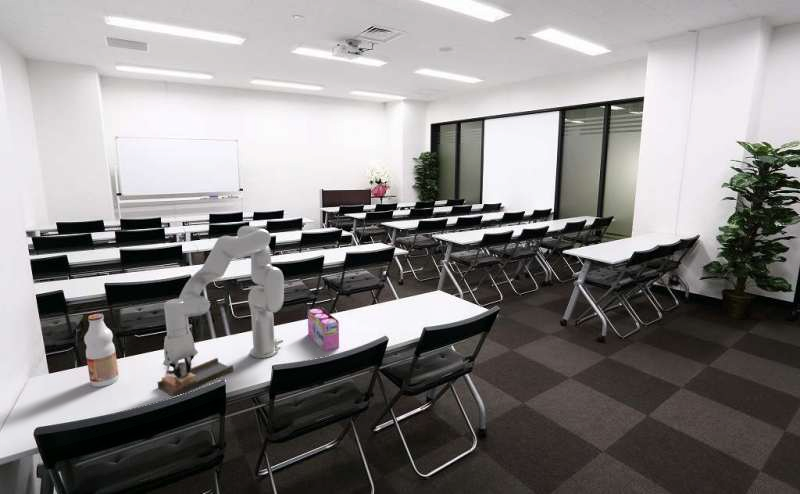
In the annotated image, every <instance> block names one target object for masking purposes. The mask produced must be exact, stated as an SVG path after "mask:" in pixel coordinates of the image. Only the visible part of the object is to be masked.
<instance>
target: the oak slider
mask: <svg viewBox="0 0 800 494" xmlns="http://www.w3.org/2000/svg"><path fill="white" fill-rule="evenodd" d="M178 367H179V368H180V373H181V377H180V378H178V377H177V376H175V375H174V374H169V376H170V377H172V378H174V379H175V380H177V381H179V382H180V383H182V387H183V386H185V385H187V384H190V383H192V382H194V381H196V375H194V374H192V373H189V374H188V373H187V369H186V362H180V363H178Z"/></svg>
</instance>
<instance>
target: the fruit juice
mask: <svg viewBox="0 0 800 494" xmlns="http://www.w3.org/2000/svg"><path fill="white" fill-rule="evenodd" d="M87 321H88V322H89V326H88V329H87V332H86V333H85V335H84V338H83V341H84V344H85V346H86V349H85V356H86V364H87V369H88V376H89V383H90V385H91V386H92V387H94V388H95V387H96V388H102V387H107V386H109V385H113V384H114V383H115V382H117V381H118V380H119V378H120V375H119V368H118V367H119V366H118V360H117V354H116V353H117V352H116V347H115V344H114V342H113V338H114V334H113V331H112V330H111V329H110V328H108V326H106V323H105V322H104V314H103V313H94V314H92V315H88V317H87Z"/></svg>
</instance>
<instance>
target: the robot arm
mask: <svg viewBox="0 0 800 494" xmlns="http://www.w3.org/2000/svg"><path fill="white" fill-rule="evenodd" d="M271 238H272V237H271V234H270V232H269V231H268V230H266V229H264V228H262V227H261V228H260V227H256V226H251V225H243V226H241V227H239V228H238V230H237V237H235V236H230V235H223V236H220V237H219V238H217V240H216V241H215V243H214V245H213V248H212V249H211V251H210V253H209V255H208V256H207V258H206V260H205V262H204V264H203V266H202V267H201V268H200V269H199V270H198V271H197V272H195V273H194V274H193V275H192V276H191V277H190V278H189V279H188V281H187V282H186V283H185V285H184V287H183V288H182V290H181V292H180V295H179V296H178V298H173V299H169V300H166V301H165V303H164V305H163V307H164V309H163V310H164V316H165V317H164V318H165V327H166V332H167V333H166V335H165V336H164V340H163V341H164V343H163V344H164V345H163V353H164V355H163V357H164V360H163V363H162V365H163V366H165V367H168V366H171V367H173V369H174V375H175V376H177V377H178V378H180V377H181V373H180V368H179V367H178V361H179V360H181V359H184V360H185V362H186V369H187V373H188V374H189V373H190V370H191V368H192V367H191V368H190V363H191V364H192V361H193V359H194V357H195V356H197V355H198V353H199V351H198V350H197V349H196V346H195V341H194V337H193V335H192V332H191V330H190V328H192V327H193V325H192V324H191V323H189V317H196V316H197V317H198V316H202V315H205V314H206V313H208V312H209V310H210V308H211V302H210V301H209V299H208V298H206V297H205V296H202V295H200V294H201V293H202V292H203V290H204V288H205V287H206V286H208V284H209V283H211V282H213V281H215V280H218V279H220V278H223V276H224V275H225V273H226V271H227V269H228V268H229V265H230V264H231V261H232V260H233V259H234V260H236V259H237V260H238V259H243V258H245V257H248V256H250V277H251V280H252V282H254V283H255V284H257V285H259V286H255V287H253V288H252V289H250V291H249V293H248V296H247V300H248V306H249V309H250V317H251V330H252V331H251V332H252V333H251V334H252V344H253V345H252V346H253V348H251V349H250V352H249V354H250V356H251V357H252V358H257V359H266V357H267V358H270V356H271V357H273V356H275V355H277V354H278V353H279V347H278V345H279V344H282V343H283V342H284V339H283V338H280V339H277V338H275V323H274V320H275V319H274V313H277V312H278V311H280V310H281V309H282V307H283V304H284V302H285V301H284V300H285V299H284V298H285V277H284V274H283V271H282V270H281V269H280V268H278V267H276V266H274V265H272V252H271V248H270V246H269V244H270V243H271V240H272V239H271ZM276 353H277V354H276ZM169 360H170V362H169ZM171 362H172V363H171Z"/></svg>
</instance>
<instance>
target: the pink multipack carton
mask: <svg viewBox="0 0 800 494" xmlns="http://www.w3.org/2000/svg"><path fill="white" fill-rule="evenodd" d="M307 332H308V333H307V334H308V336H310V338H311V339H313V341H314V342H315V343H316V344H317V346H318V345H319V347H320V348H321V349H322V350H323V351H324V352H325V351H329V350H334V349H337V348H340V322H339V320H338V319H337V318H335V317H334V316H333V315H332V314H330V313H329V312H328V311H326V310H325V308H324V307H321V306H318V307H317V308H312V309H310V308H307Z"/></svg>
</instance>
